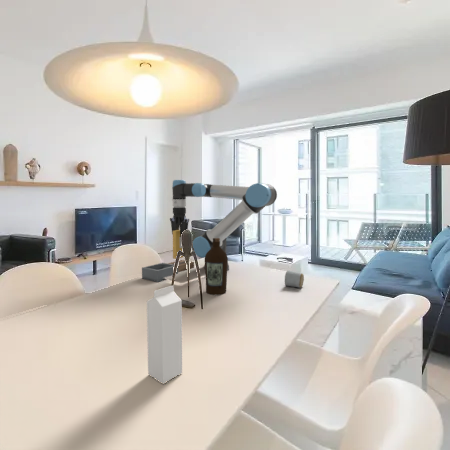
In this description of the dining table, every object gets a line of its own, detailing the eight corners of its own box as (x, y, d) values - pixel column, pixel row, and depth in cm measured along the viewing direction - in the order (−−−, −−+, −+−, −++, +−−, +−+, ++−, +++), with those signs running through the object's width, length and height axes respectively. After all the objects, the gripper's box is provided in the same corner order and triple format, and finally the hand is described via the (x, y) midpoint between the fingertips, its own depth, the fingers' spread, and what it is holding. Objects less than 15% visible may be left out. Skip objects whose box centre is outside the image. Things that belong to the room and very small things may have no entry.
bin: (178, 276, 167) (177, 265, 167) (157, 282, 155) (157, 270, 155) (162, 272, 174) (162, 262, 174) (142, 278, 162) (141, 267, 161)
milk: (182, 374, 75) (182, 287, 73) (163, 385, 71) (162, 293, 69) (166, 365, 79) (166, 282, 77) (147, 375, 75) (146, 288, 72)
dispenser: (194, 270, 181) (194, 260, 181) (177, 275, 170) (177, 265, 169) (181, 267, 187) (181, 258, 186) (165, 272, 175) (165, 262, 175)
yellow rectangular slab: (186, 256, 180) (186, 229, 179) (175, 258, 173) (175, 231, 171) (183, 256, 182) (183, 229, 180) (173, 258, 174) (172, 230, 173)
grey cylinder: (300, 289, 144) (301, 273, 144) (284, 287, 148) (284, 271, 147) (305, 284, 154) (305, 269, 153) (289, 282, 157) (289, 267, 157)
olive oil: (207, 287, 146) (207, 236, 144) (229, 289, 145) (229, 237, 142) (202, 295, 136) (202, 239, 133) (225, 296, 134) (226, 240, 132)
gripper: (165, 206, 176) (165, 247, 178) (184, 207, 167) (185, 249, 169) (174, 206, 182) (174, 245, 184) (193, 207, 173) (193, 247, 176)
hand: (179, 247), depth 177 cm, fingers closed on yellow rectangular slab, 2 cm apart
